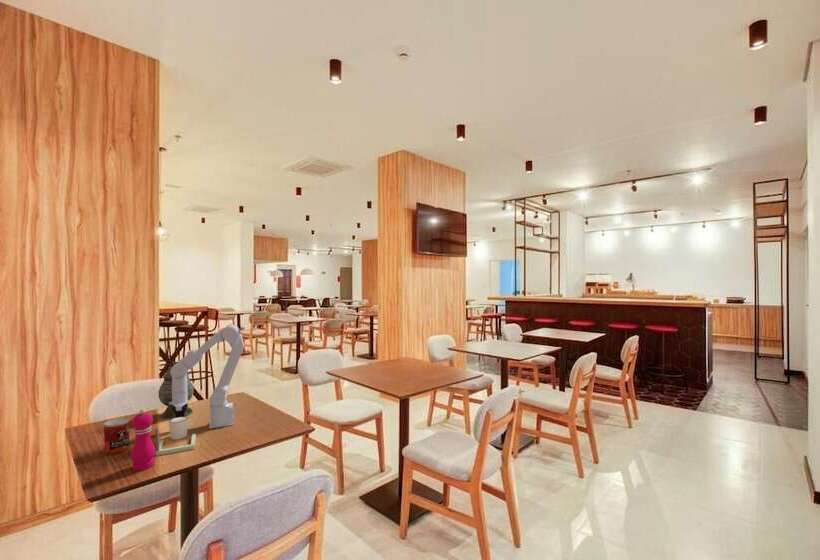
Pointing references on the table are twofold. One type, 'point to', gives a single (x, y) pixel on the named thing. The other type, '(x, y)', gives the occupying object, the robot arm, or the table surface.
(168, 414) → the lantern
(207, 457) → the table surface
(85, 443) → the table surface
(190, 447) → the pale green angular frame
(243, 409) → the table surface
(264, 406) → the table surface
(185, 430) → the beige faceted cylinder
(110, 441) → the canned food
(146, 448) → the pepper mill
